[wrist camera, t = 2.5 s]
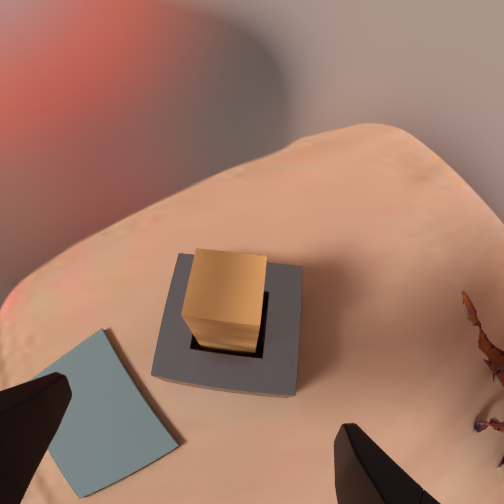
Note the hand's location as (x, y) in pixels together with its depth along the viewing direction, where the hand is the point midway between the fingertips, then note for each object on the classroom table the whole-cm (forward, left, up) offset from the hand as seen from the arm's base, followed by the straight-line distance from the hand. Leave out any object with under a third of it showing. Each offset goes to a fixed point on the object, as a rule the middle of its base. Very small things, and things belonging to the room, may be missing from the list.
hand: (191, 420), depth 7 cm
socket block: (+4, -4, -12) cm, 14 cm away
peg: (+4, -4, -12) cm, 14 cm away
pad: (+5, +10, -12) cm, 17 cm away
